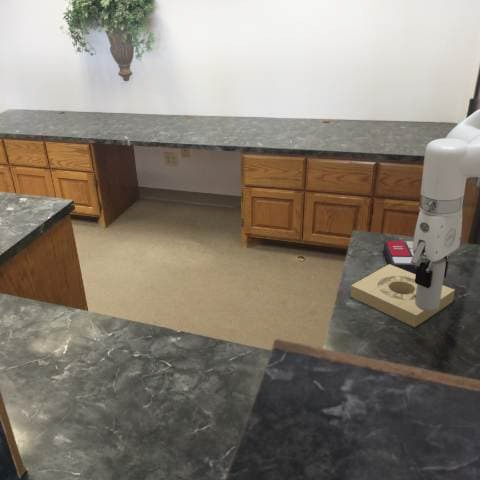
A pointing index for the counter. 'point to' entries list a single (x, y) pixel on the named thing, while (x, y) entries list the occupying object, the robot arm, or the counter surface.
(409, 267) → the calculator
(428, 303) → the beverage can
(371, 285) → the socket pad
